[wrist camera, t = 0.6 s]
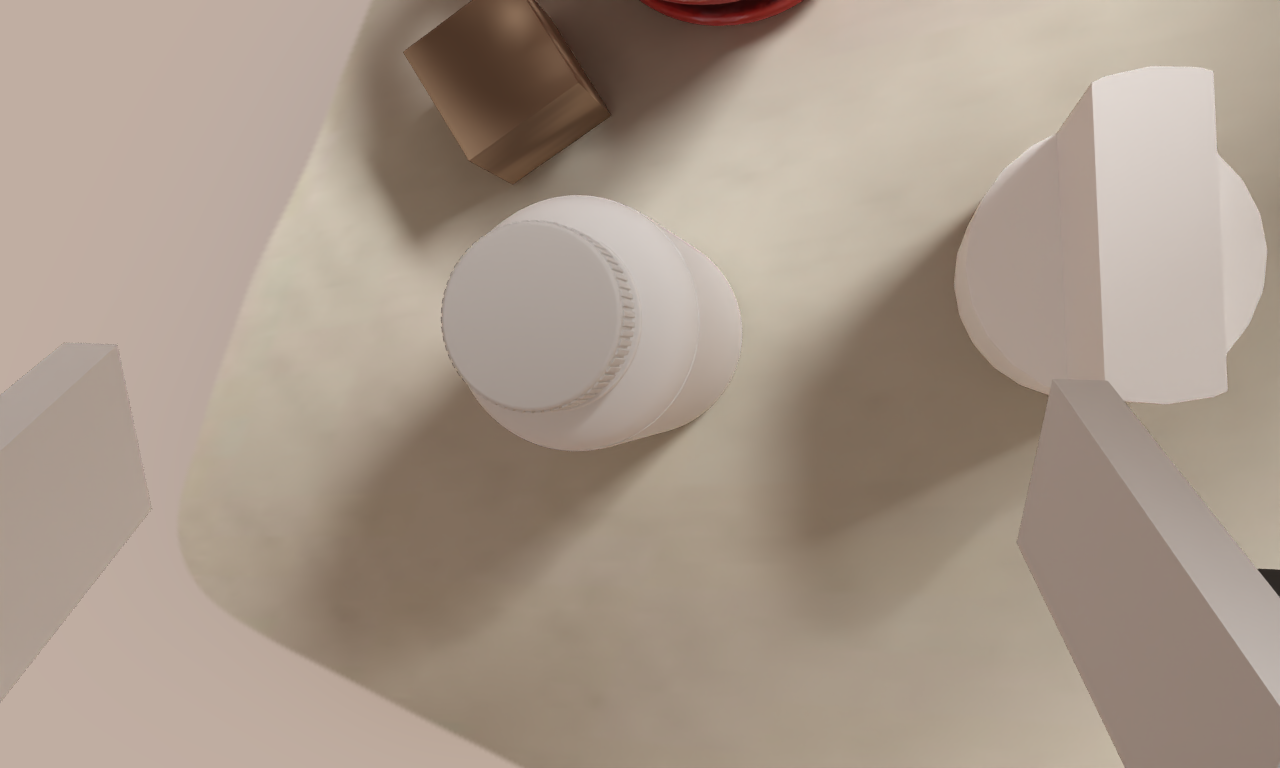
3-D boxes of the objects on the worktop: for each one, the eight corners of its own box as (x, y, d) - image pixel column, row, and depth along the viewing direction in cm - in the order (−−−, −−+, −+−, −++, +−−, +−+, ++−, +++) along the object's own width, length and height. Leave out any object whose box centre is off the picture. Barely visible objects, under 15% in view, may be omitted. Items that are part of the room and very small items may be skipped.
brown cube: (549, 17, 45) (509, -28, 40) (611, 116, 45) (578, 82, 40) (454, 87, 46) (403, 51, 41) (513, 184, 46) (469, 160, 41)
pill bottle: (529, 398, 45) (360, 405, 31) (589, 213, 45) (446, 129, 30) (708, 462, 44) (620, 502, 29) (773, 271, 43) (716, 213, 28)
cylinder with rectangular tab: (1216, 394, 40) (1356, 398, 28) (958, 403, 42) (989, 410, 30) (1204, 147, 40) (1340, 47, 28) (948, 167, 42) (974, 82, 30)
